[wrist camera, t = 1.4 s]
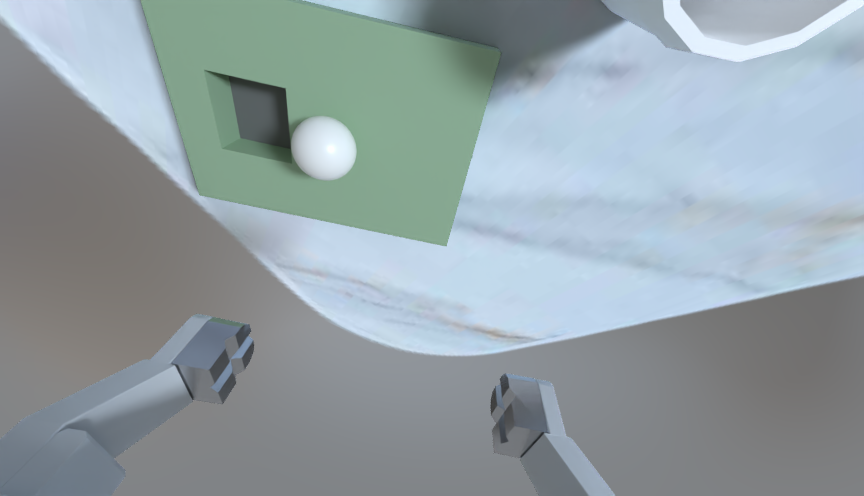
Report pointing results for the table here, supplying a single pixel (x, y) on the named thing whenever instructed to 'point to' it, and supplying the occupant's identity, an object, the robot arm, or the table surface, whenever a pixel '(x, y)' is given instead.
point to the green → (324, 108)
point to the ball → (323, 148)
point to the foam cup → (733, 23)
